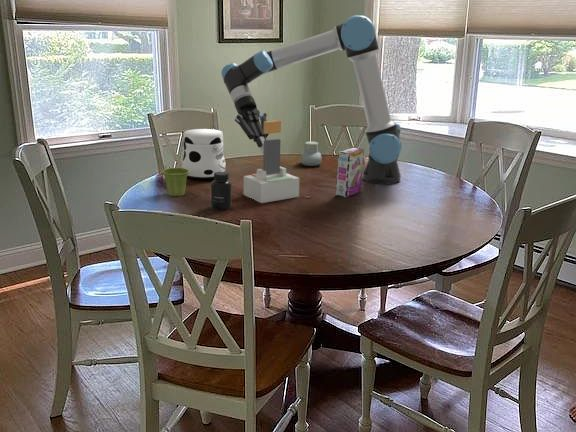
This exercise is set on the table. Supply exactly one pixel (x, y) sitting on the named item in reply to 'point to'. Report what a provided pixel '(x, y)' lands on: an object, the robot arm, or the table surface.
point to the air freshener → (311, 154)
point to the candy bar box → (349, 172)
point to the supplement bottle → (221, 191)
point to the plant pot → (176, 180)
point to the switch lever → (272, 148)
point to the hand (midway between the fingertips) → (266, 153)
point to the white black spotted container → (203, 153)
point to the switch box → (271, 186)
